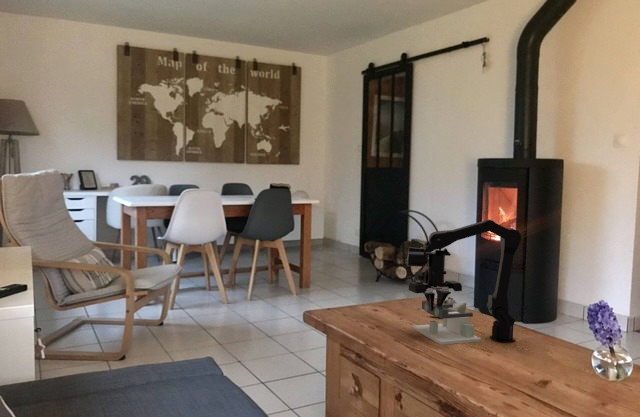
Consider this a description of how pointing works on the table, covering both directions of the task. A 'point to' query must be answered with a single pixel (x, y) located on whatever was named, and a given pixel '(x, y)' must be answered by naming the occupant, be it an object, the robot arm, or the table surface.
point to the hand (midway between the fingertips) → (434, 310)
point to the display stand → (449, 331)
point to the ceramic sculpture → (454, 306)
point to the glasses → (443, 311)
